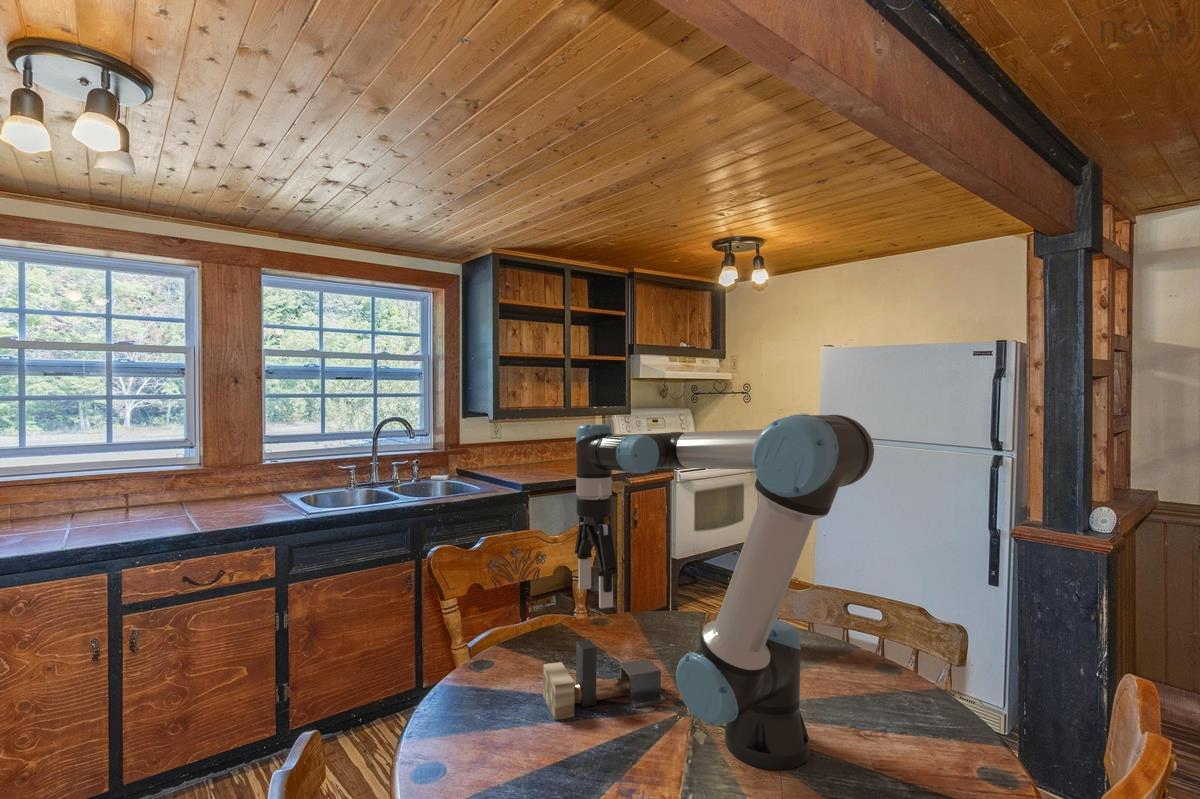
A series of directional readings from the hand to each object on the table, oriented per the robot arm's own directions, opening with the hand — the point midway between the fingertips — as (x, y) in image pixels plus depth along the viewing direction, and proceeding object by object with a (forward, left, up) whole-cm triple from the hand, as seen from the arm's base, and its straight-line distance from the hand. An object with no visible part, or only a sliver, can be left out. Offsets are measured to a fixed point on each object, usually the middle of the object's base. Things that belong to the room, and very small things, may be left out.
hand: (595, 597), depth 127 cm
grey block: (+1, -11, -22) cm, 25 cm away
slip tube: (+1, -1, -22) cm, 22 cm away
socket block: (+1, +8, -22) cm, 24 cm away
